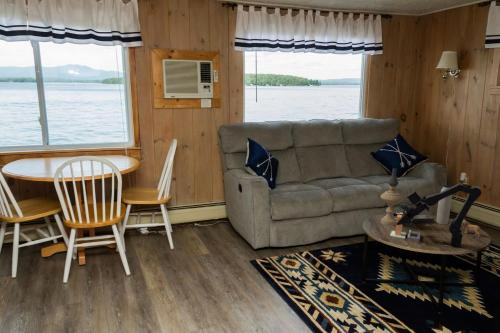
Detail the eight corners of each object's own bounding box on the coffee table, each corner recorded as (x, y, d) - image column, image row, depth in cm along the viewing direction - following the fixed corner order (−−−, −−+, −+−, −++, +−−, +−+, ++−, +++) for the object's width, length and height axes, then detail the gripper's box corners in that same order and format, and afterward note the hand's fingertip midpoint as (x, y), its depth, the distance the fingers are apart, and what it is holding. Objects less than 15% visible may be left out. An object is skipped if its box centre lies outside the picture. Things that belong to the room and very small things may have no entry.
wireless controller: (423, 217, 288) (426, 196, 284) (434, 224, 274) (437, 201, 271) (399, 218, 285) (401, 196, 281) (409, 224, 271) (412, 201, 268)
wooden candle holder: (403, 226, 265) (409, 171, 258) (382, 226, 265) (388, 170, 257) (395, 219, 280) (401, 166, 272) (375, 219, 280) (380, 166, 272)
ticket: (401, 233, 251) (403, 215, 249) (400, 235, 247) (402, 217, 244) (395, 232, 253) (397, 214, 250) (394, 234, 248) (396, 216, 246)
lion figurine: (457, 232, 258) (459, 219, 256) (459, 230, 262) (461, 217, 260) (482, 237, 249) (484, 224, 247) (483, 235, 253) (485, 222, 251)
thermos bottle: (442, 220, 281) (447, 183, 276) (450, 224, 274) (455, 186, 268) (433, 221, 279) (438, 184, 273) (441, 225, 271) (446, 187, 266)
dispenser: (420, 235, 250) (420, 231, 249) (419, 242, 238) (419, 238, 238) (408, 233, 253) (409, 229, 252) (406, 240, 242) (407, 236, 241)
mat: (406, 233, 252) (406, 233, 252) (404, 238, 244) (404, 237, 243) (391, 231, 256) (391, 230, 256) (390, 236, 247) (390, 235, 247)
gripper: (409, 196, 251) (390, 209, 258) (407, 203, 235) (387, 216, 242) (421, 209, 250) (401, 222, 257) (419, 217, 233) (398, 230, 240)
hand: (397, 222), depth 249 cm, fingers open, 8 cm apart
